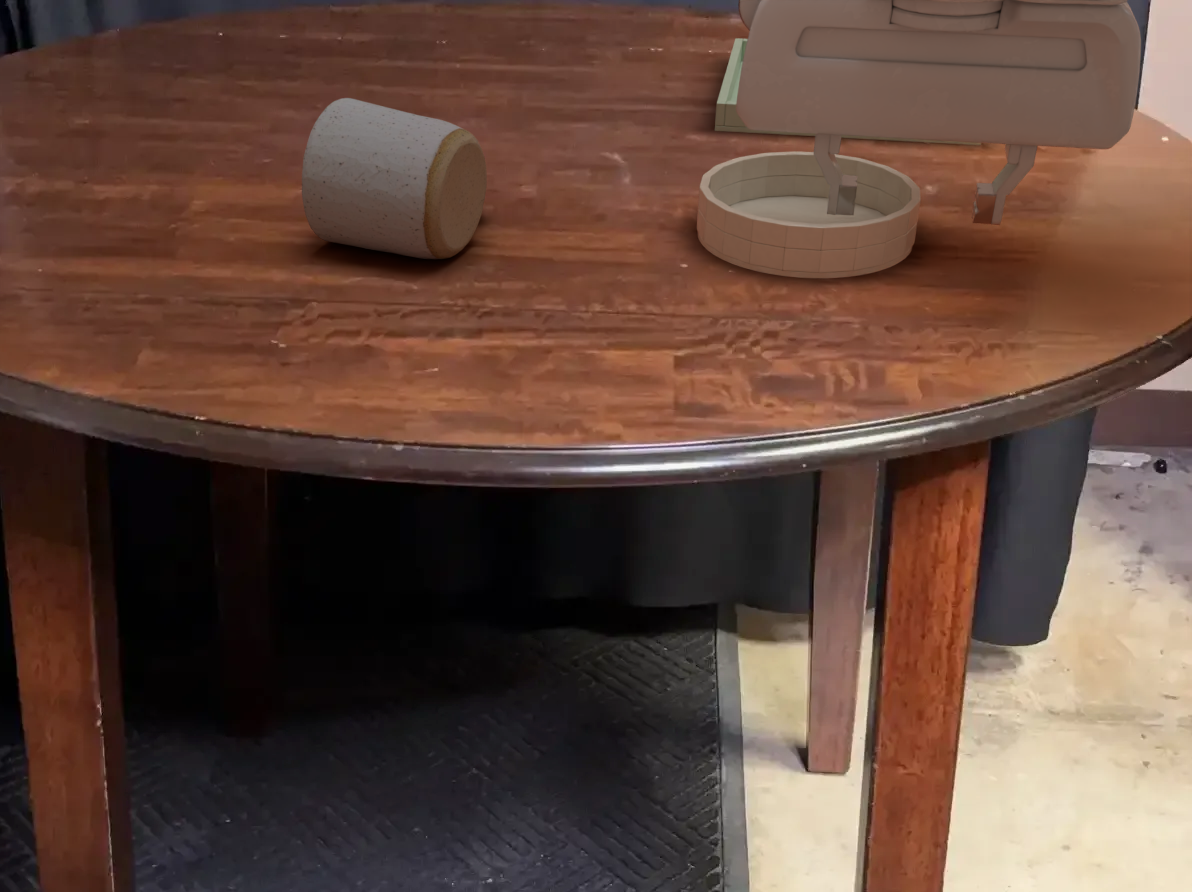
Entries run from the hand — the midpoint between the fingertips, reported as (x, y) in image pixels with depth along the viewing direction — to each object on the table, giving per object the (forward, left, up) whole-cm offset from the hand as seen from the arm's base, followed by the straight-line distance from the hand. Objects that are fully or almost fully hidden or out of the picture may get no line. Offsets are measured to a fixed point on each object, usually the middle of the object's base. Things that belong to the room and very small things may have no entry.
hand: (912, 216), depth 83 cm
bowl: (+6, 0, -2) cm, 6 cm away
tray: (+4, -26, -2) cm, 26 cm away
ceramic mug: (+28, +4, -2) cm, 28 cm away
